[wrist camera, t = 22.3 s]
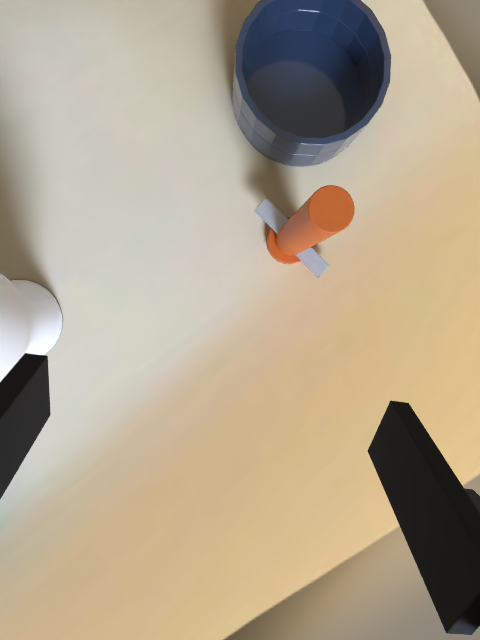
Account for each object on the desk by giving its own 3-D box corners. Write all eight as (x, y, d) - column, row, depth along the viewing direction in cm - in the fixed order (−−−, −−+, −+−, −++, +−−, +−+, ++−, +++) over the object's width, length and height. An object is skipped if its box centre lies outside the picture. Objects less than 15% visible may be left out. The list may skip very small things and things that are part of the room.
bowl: (215, 47, 37) (215, 3, 31) (344, 12, 38) (367, -37, 32) (254, 182, 38) (261, 162, 32) (380, 146, 39) (408, 120, 33)
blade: (241, 226, 38) (257, 184, 24) (271, 194, 38) (306, 133, 24) (304, 288, 39) (356, 282, 25) (334, 256, 39) (403, 232, 25)
